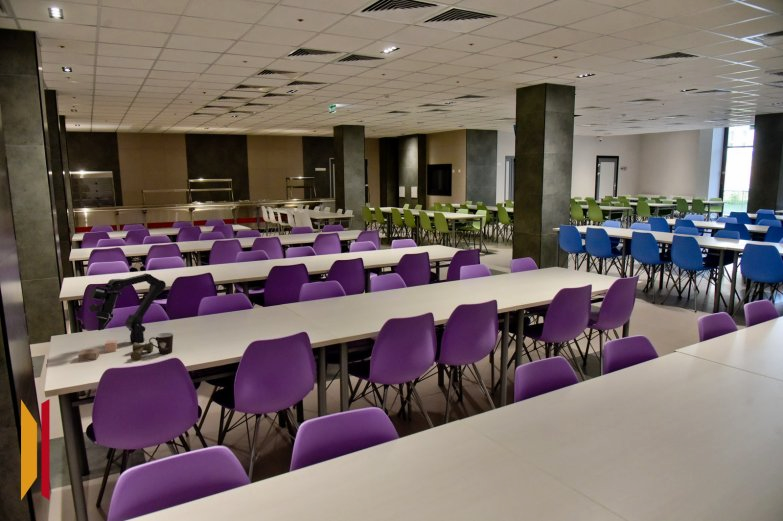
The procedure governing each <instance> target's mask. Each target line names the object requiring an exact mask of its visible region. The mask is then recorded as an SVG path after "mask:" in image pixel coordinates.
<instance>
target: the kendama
mask: <svg viewBox="0 0 783 521" xmlns="http://www.w3.org/2000/svg"><path fill="white" fill-rule="evenodd" d="M150 342H151V343H152V344H153V345H154V343H153V342H152V341H150ZM150 342H148V343H147V342H145V343H144V344H140V343H136V342H134V343H132V352H131V353H130V358H131V360H132V361H133V362H134V361H141V358H142V356H143V355H144V352H143V351H146V352H147V353H152V352H153V351H154V346H153V345H151V344H150Z"/></svg>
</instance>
